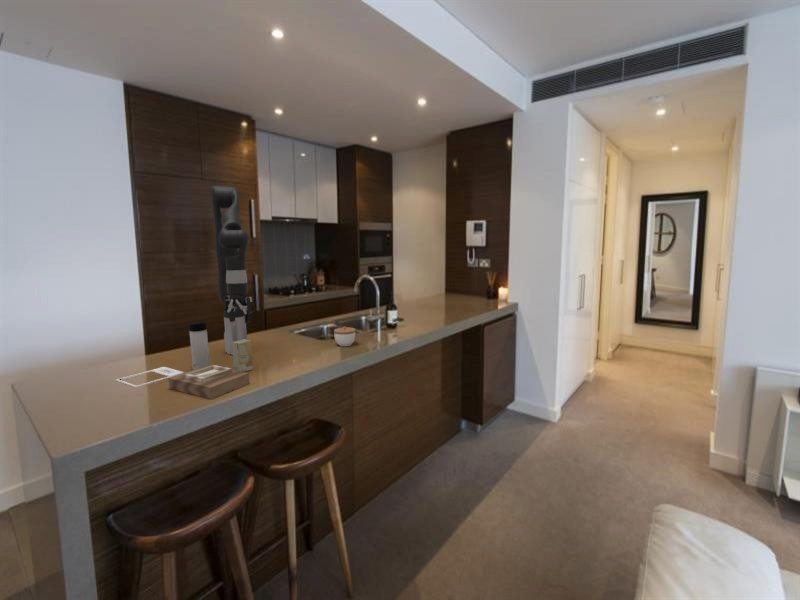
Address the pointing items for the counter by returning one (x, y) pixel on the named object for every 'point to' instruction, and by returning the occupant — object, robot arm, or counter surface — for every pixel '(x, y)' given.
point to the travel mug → (199, 345)
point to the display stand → (209, 381)
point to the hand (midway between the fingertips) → (240, 322)
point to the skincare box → (242, 355)
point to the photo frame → (161, 370)
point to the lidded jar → (344, 336)
